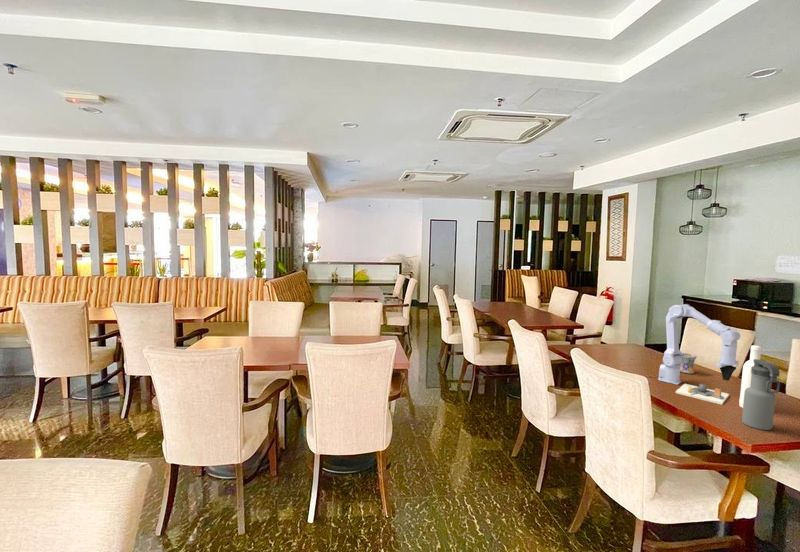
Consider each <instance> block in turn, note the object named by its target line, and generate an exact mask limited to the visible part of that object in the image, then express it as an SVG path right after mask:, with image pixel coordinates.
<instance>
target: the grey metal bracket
mask: <svg viewBox="0 0 800 552" xmlns="http://www.w3.org/2000/svg"><path fill="white" fill-rule="evenodd" d="M707 389H708V388H706V392H705V393H704V392H701V391H698V390H699V386H697V387H696V388H692V391H693V392H696V393H699V394H702V395H705V396H707V395H710V396H713V397H716V398H719V399H722V398H724V397H723V396H721V392H722V389H721V388H717V387H715V388H714V391H715V392H713V391H710V390H711V389H710V390H707Z"/></svg>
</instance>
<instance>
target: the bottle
mask: <svg viewBox="0 0 800 552" xmlns="http://www.w3.org/2000/svg"><path fill="white" fill-rule="evenodd" d="M761 357H762V346H761V345H755V344H754V345H751V346H750V353H749V360H747V361H745V363H744V364H743V365H742V373H741V374H742V375H741V383H740V384H741V385H740V393H739V400H738V403H739V404H738V405H739V407H740V408H742V409H743V403H744V394H745V389H746V388H748V387H750V385H751V375H752V374H751V367H752V366H754V359H758V360H761ZM763 367H765V366H763Z"/></svg>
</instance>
